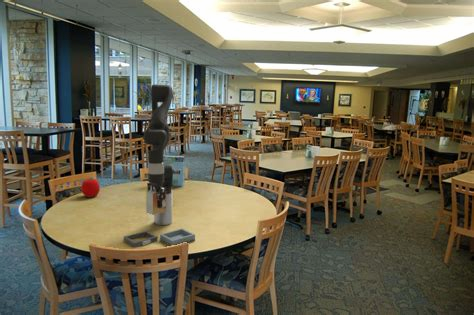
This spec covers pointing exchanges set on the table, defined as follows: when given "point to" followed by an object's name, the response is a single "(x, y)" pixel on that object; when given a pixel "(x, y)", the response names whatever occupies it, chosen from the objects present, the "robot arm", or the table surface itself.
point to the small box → (154, 203)
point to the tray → (177, 237)
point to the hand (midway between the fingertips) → (156, 205)
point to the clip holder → (141, 242)
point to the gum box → (176, 169)
